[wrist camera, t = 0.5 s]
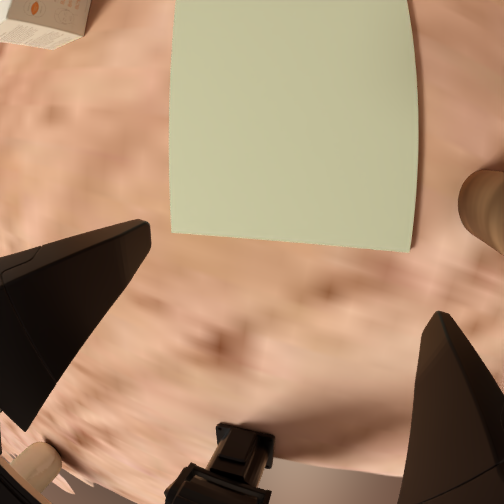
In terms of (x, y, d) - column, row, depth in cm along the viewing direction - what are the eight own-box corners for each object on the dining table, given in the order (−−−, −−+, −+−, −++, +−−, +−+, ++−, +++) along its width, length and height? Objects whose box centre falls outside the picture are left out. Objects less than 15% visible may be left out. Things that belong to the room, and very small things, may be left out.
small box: (65, -4, 21) (0, -23, 12) (98, -21, 20) (29, -49, 10) (53, 52, 24) (-21, 41, 14) (84, 38, 22) (4, 18, 13)
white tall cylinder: (41, 430, 52) (-26, 492, 26) (71, 460, 52) (8, 527, 26) (39, 439, 56) (-21, 495, 30) (66, 466, 56) (9, 525, 30)
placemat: (408, 250, 20) (409, 252, 20) (175, 230, 25) (171, 232, 25) (395, -44, 13) (395, -48, 13) (182, -29, 18) (179, -32, 18)
